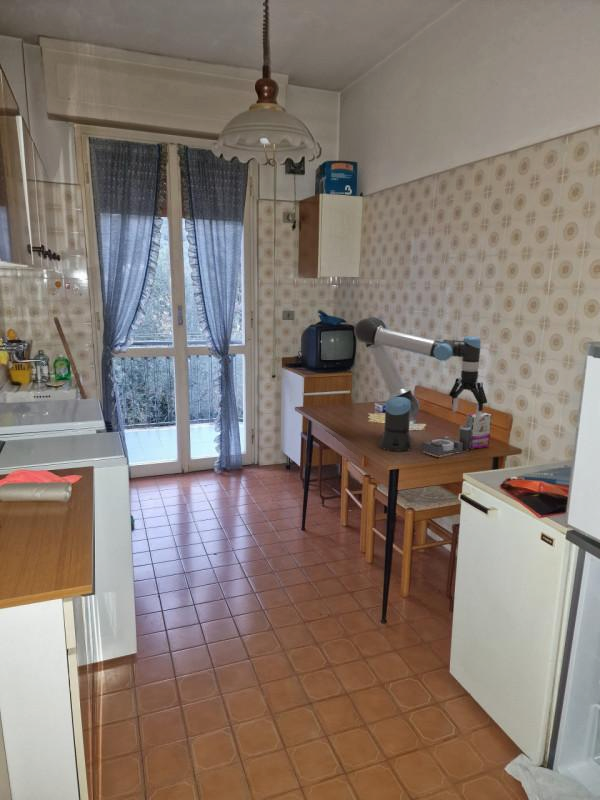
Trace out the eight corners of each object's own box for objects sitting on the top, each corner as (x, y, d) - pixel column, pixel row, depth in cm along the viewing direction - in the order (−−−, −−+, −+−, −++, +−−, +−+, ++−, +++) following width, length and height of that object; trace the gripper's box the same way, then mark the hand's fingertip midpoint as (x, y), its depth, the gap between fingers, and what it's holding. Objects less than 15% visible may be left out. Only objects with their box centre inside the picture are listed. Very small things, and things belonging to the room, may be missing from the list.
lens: (464, 451, 255) (466, 427, 252) (456, 448, 259) (458, 425, 256) (470, 449, 257) (472, 426, 255) (463, 446, 261) (464, 423, 259)
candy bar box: (481, 444, 266) (484, 412, 262) (489, 447, 261) (492, 414, 258) (463, 446, 262) (466, 414, 258) (470, 449, 257) (473, 416, 253)
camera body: (437, 458, 244) (438, 445, 243) (421, 452, 252) (422, 440, 251) (462, 452, 253) (463, 440, 251) (445, 447, 261) (446, 435, 260)
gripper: (497, 373, 243) (493, 418, 248) (454, 365, 263) (450, 408, 268) (487, 375, 239) (483, 421, 244) (443, 367, 259) (440, 409, 264)
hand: (466, 414), depth 256 cm, fingers open, 13 cm apart
